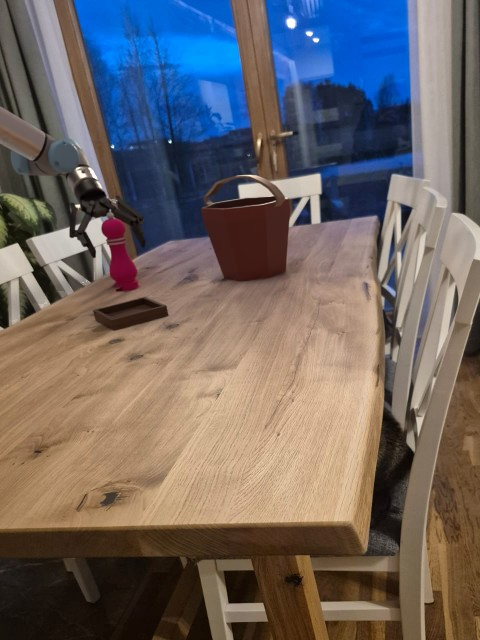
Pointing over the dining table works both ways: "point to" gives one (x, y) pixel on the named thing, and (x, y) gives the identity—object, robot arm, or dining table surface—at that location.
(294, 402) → the dining table surface
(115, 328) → the base tray
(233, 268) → the bucket
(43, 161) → the robot arm
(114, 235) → the pepper mill
